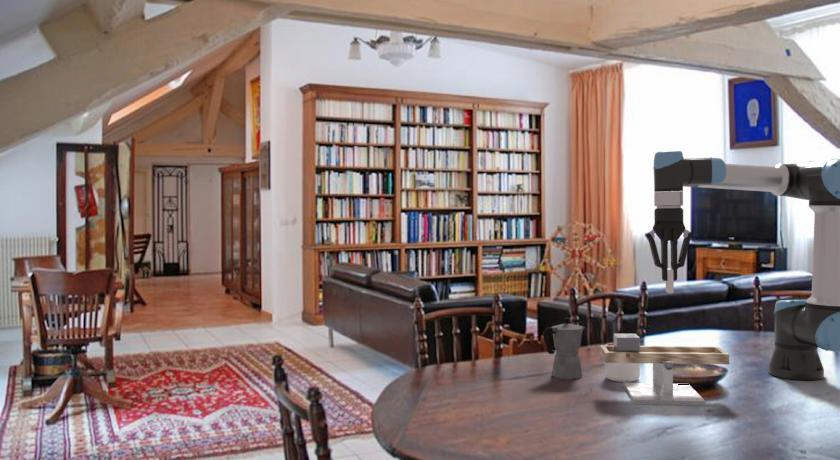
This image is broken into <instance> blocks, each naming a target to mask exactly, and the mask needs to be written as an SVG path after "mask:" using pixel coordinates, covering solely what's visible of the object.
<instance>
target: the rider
mask: <svg viewBox="0 0 840 460" xmlns="http://www.w3.org/2000/svg"><path fill="white" fill-rule="evenodd" d="M640 341H641V340H640V336H639V335H637V333H613V343H614V352H640V346H641V343H640Z"/></svg>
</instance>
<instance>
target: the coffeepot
mask: <svg viewBox="0 0 840 460" xmlns="http://www.w3.org/2000/svg"><path fill="white" fill-rule="evenodd" d="M563 320H564V323H561V324H557V325H553V326H550V327H549V326H547V327H546V328H545V329H544V331H543V332H542V337H543V341H544V343H545V347H546V350H547V354H549V355H553V354H554V358H553V359H554V360H553V364H552V372H551V376H553V378H556V379H559V380H578V379H580V378H582V377H583V370H582V364H581V360H580V356H579V350H580V348H581V342H582V336H583V331H584V330H585V328H586V327H585V326H582V325H577V324H572V323H570V318H569V317H564V319H563ZM549 334H552V338H553V344H554V348H555V350H552V344H551V342H550V337H549Z"/></svg>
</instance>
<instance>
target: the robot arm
mask: <svg viewBox="0 0 840 460" xmlns="http://www.w3.org/2000/svg"><path fill="white" fill-rule="evenodd" d="M652 169H653V185H654V186H653V187H654V188H653V189H654V195H653V197H654V200H653V201H654V202H653V204H654V207H656V208H655V209H654V211H653V212H654V214H653V215H654V216H653V217H654V218H653V219H654V224H653V226H652V229H651V230H650V231H648V232H645V233H644V237H645V238H646V239H647V241H648V244H649V249H650V253H651V256H652V260H653V263H654V266H655V267H658V268H660V269H661V279H662V281H663V282H664V281H665V292H666V293H667V294H674V293H675V290H674V288H675V286H674V285H675V284H674V281H677V280H678V269H679V268H684V266H685V263H686V259H687V256H688V252H689V247H690V243H691V240H692V238H693V237H694V235H695V234H694V232H692V231H690V230H688V229H686V226H685V224H684V209H683V206H684V187H686V188H689V187H690V188H703V189H704V188H706V189H707V188H708V189H721V190H722V189H723V190H735V191H736V190H738V191H751V192H754V191H755V192H767V193H768V192H770V193H771V194H772V195H773V196H777V197H787V198H792V199H793V198H794V199H800V200H804V201H805V200H806V201H808V208H809V209H810V210H812V211H813V213H814V217H813V218H814V221H813V222H814V225H813V247H812V249H813V251H812V275H811V295H810V296H809V297H808V298H806V299H782V300H781V299H780V300H778V301H776V302H775V305H774V312H773V314H774V348H773V350H772V354H771V357H770V359H769V361H768V365H767V373H768V374H770V375H772V376H774V377H778V378H782V379H783V378H784V379H787V380H795V381H797V380H798V381H817V380H822V379H824V378H825V368H824V365H823V364H822V360H821V357H820V355H819V352H818V351H819V350H818V349H821V350H824V351H827V352H828V351H829V352H835V353H840V158H830V159H821V160H820V159H819V160H811V161H810V160H809V161H802V162H796V163H777V164H775V165H773V166H769V165H767V166H765V165H750V164H736V163H725V161H724V159H722V158H720V157H711V156H710V157H693V158H692V157H691V158H690V157H689V158H688V157H687V158H686V157H684V154H683V152H682V150H664V151H663V150H662V151H661V150H660V151H657V152H656V153H655V154H654V158H653V168H652ZM655 235H656V237H658V239H659V240H660V251H661V252H660V256H659V251H658V248H657V244H656V241H655ZM681 236H683V240H682V243H681V248H680V251H679V252H680V253H679V256H678V244H679V243H678V240H679V239H680V237H681ZM669 243H670V267H671V268H669V259H668V258H669V252H668V251H669V250H668V246H669V245H668V244H669Z"/></svg>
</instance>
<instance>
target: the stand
mask: <svg viewBox="0 0 840 460" xmlns="http://www.w3.org/2000/svg"><path fill="white" fill-rule="evenodd" d="M678 384H679V383H674V364H673V361H672V360H662V364H659V363H652V382H623V388H624V390H625V392H627V394H628V397H629V398H630V399H631V401H632V402H633V404H634V405H656V406H657V405H662V406H694V407H695V406H697V407H698V406H699V407H700V406H701V407H702V406H703V407H706V406H707V405H706V400H705V399H704V397H702V396H701V395H700V394H699V393H698V392H697V391H696V390H695V389H694V388H693V387H692V386H691V385H690V384H689V385H678Z"/></svg>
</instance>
